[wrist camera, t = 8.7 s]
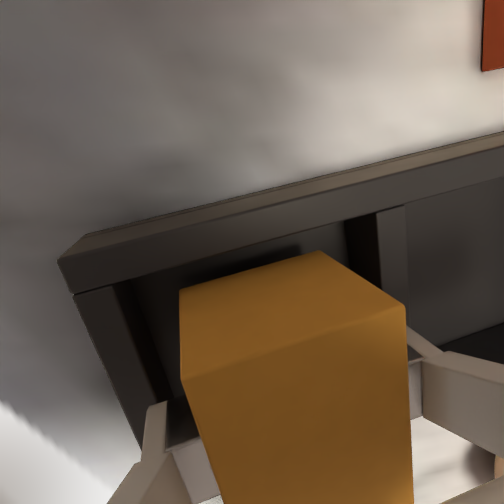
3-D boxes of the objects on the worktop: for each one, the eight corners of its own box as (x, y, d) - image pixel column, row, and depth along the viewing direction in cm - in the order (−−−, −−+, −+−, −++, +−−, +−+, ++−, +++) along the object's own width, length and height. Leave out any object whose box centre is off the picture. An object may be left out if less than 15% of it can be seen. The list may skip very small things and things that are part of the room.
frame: (83, 234, 10) (53, 260, 7) (546, 120, 13) (635, 111, 10) (171, 448, 13) (169, 516, 11) (525, 320, 16) (589, 350, 13)
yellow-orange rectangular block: (178, 288, 9) (179, 379, 5) (319, 248, 10) (407, 304, 6) (224, 437, 11) (249, 578, 7) (340, 395, 12) (415, 506, 8)
